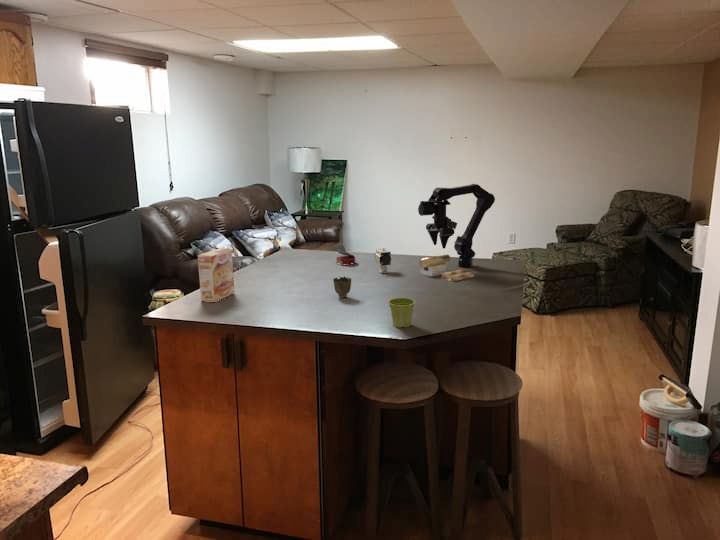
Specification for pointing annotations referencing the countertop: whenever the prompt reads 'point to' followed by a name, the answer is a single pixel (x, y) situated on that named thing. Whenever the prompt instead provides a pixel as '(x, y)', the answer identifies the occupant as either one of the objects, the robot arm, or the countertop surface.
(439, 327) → the countertop surface
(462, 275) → the beam
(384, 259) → the pneumatic valve
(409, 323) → the plant pot
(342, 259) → the canned food
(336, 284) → the cup
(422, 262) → the axle
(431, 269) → the cradle
